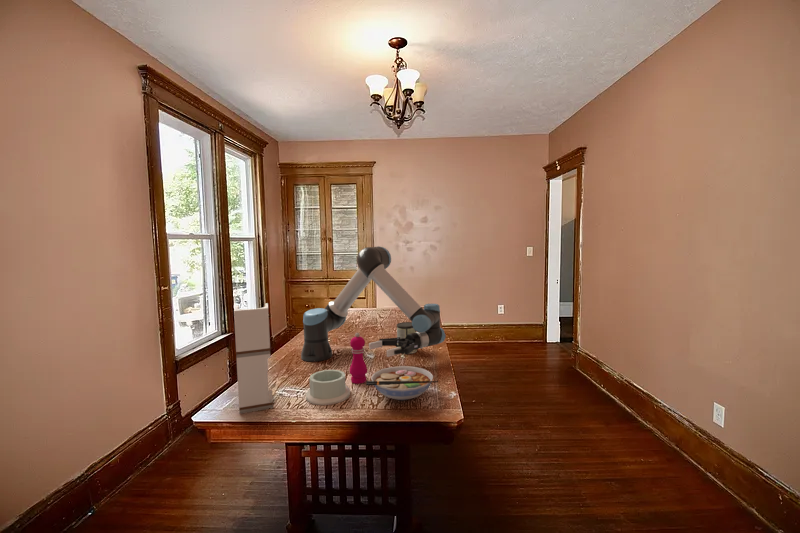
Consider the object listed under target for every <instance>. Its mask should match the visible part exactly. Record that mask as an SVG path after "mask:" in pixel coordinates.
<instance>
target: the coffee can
mask: <svg viewBox="0 0 800 533" xmlns="http://www.w3.org/2000/svg"><path fill="white" fill-rule="evenodd" d="M415 332H417V331H415V330H414V328H413V326H412V321H403V322H398V323H397V324H396V338H397V337H400V339H401V338H406V336H407V335H408V334H411V333H415ZM397 345H398V343H397ZM400 349H401V347H400ZM416 352H418V349H416V350H413V351H412V352H410V353H409V354H408V355H410V354H415V353H416ZM403 355H406V354H405V353H404V354H403Z"/></svg>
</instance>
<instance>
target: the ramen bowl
mask: <svg viewBox="0 0 800 533" xmlns="http://www.w3.org/2000/svg"><path fill="white" fill-rule="evenodd" d="M370 379H371V380H366V382H365V386H366V387H367V386H374V388H376V390H377V391H378V392H379V393H380V394H381V395H383V396H384V397H386V398H390V399H393V400H397V401H408V400H411V399H414V398H417V397H419V396H421V395H423V393H425V392H426V391H427V390H428V388H430V386H431V385H432V383H439V380H434V375H433V374H432V372H431V371H429V370H427V369H425V368H422V367H417V366H412V365H411V366H408V365H398V366H390V367H386V368H382V369H379V370H377V371H375V372H374V373H373V374H372V375H371V377H370ZM433 380H434V381H433Z"/></svg>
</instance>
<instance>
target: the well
mask: <svg viewBox="0 0 800 533" xmlns="http://www.w3.org/2000/svg"><path fill="white" fill-rule="evenodd" d="M308 382H309V389H308V390H307V391H306V394H305V396H306V397H305V398H306V401H307V402H308V403H309V402H310V403H309V404H311V403H312V405H316V406H331V405H335V404H339V403H342V402H344V401H346V400H347V399H348V398H349V397H350V395H351V389H350V387H349V386H348V385H347V384H346V372H344V371H343V370H339V369H324V370H319V371H316V372H314V373H313V374H311V375H310V376H309V380H308Z"/></svg>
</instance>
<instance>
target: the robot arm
mask: <svg viewBox="0 0 800 533" xmlns="http://www.w3.org/2000/svg"><path fill="white" fill-rule="evenodd" d="M356 263H357V267H358V269H357V270H356V271H355V273H354V274H353V275H352V277H351V278H350V279H349V281H348V282H347V283H346V285H345V286H344V287H343V289H342V290H341V291H340V293H338V295H337V296H336V297H335V299H334V300H331V301H329V302H328V303H327V305H326V306H325V307H324V308H323V307H321V308H320V307H317V308H311V309H308V310H307V311H305V312H304V313H303V315H302V316H303V318H302V319H303V320H302V323H303V339H304V340H303V342H304V343H303V346H302V349H301V354H300V358H301V360H302V361H305V362H321V361H325V360H329V359H331V358H332V357H333V350H332V347H331V344H330V342H329V332H331V331H333V330H336V329H339V328H340V327H342V326H343V325H344V324H345V322H346V321H347V316H348V315H349V312H348V310H349V309H350V308H351V307H352V305H353V304H354V302H355V301H356V300H357V299H358V298H359V296H360V295H361V293H362V292H363V291H364V290H365V288H366V287H367V286H368V285H369V283H370V282H371V281H373V282H374V283H375V285H376V286H378V287H379V288H380V290H381V291H382V292H383V293H384V294H385V295H386V296H387V297H388V298H389V299H390V300H391V301H392V302H393V304H395V305H396V307H398V309H399V310H400V311H401V312H402V313H403V314H404V315H405V316H406V317H407V318H408V319H409V321H410V322H412V326H413V328H414V330H415V331H416V332H415V333H411V334H408V335H407V336H406V338H401V339H400V337H397V336H396V337H385V338H379V340H377V341H372V342H369V343H368V350H373V349H378V348H383V347H393V346H394V348H390V349H387V350H386V357H387V358H389V357H394V356H397V355H407V356H408V355H410V354H409V353H410V352H412V351H413V350H416V349H417V350H419V349H421V350H422V349H424V348H426V347H432V346H436V345H440V344H441V343H443V342H444V341H445V340H446V333H445V329H443V328H442V327H441V309H440V308H441V307H440V305H439V304H437V303H425V304H424V305H423V307H422V306H421V305H420V304H419V303H418V302H417V301H416V300H415V299H414V298H413V297H412V296H411V295H410V294H409V293H408V291H407V290H406V289H405V288H403V286H402V285H401V284H399V282H398V281H397V280H396V279H395V277H393V276H392V275H391V274H390V273H389V272H388V270H387V268H389V266H390V265H391V263H392V256H391V253H390V251H389V250H388V249H387V248H386V247H383V246H379V245H378V246H367V247H366V246H365V247H364V248H363V249H360V251H359V252H358V253H357V256H356ZM397 343H398V345H397ZM400 347H401V349H400ZM404 353H405V354H404Z"/></svg>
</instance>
